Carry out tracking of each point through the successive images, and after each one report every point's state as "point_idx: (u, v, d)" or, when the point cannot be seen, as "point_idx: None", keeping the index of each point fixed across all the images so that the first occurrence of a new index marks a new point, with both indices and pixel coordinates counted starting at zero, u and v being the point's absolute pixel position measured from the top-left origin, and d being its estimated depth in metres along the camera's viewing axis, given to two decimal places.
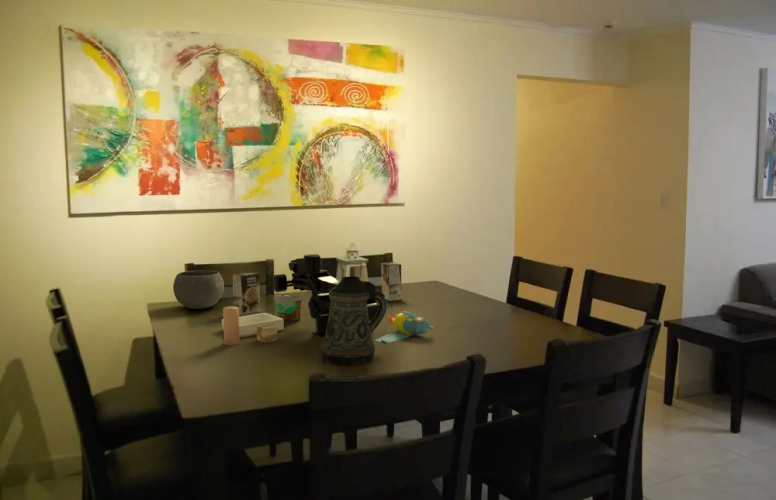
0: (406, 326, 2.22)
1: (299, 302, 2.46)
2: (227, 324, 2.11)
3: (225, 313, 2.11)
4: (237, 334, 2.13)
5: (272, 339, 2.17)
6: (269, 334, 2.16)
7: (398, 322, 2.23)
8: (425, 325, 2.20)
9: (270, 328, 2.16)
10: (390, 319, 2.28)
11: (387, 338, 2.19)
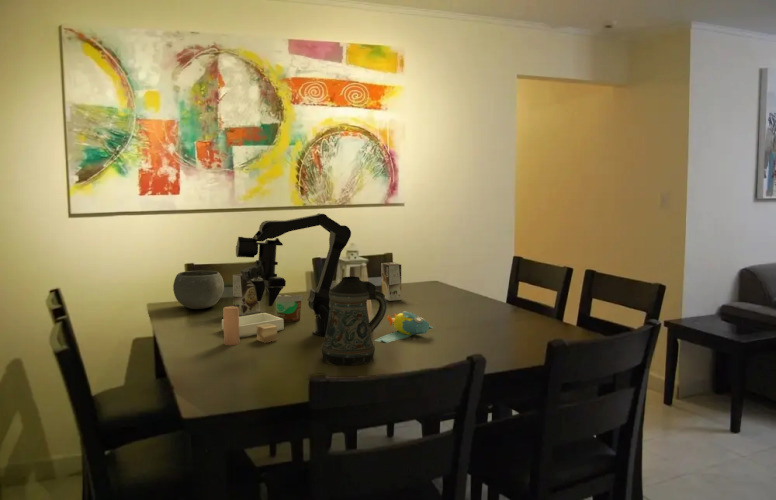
0: (406, 326, 2.22)
1: (299, 302, 2.46)
2: (227, 324, 2.11)
3: (225, 313, 2.11)
4: (237, 334, 2.13)
5: (272, 339, 2.17)
6: (269, 334, 2.16)
7: (398, 322, 2.24)
8: (425, 325, 2.20)
9: (270, 328, 2.16)
10: (390, 319, 2.28)
11: (387, 338, 2.19)
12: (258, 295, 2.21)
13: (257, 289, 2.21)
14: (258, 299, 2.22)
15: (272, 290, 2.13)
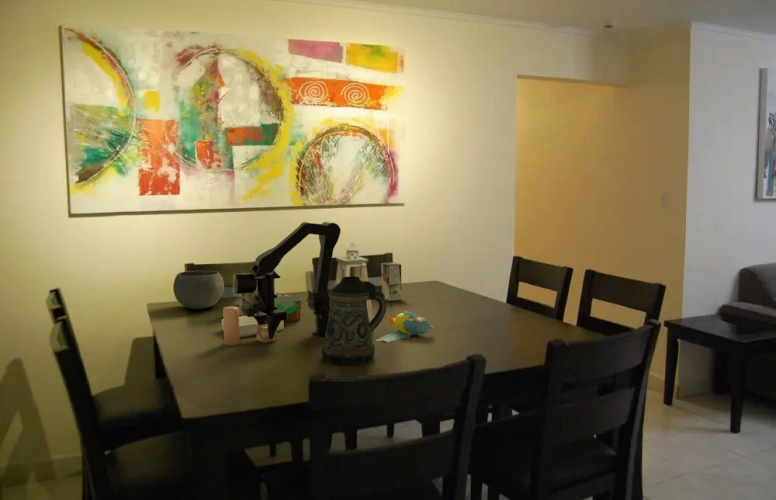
0: (407, 326, 2.22)
1: (299, 302, 2.46)
2: (227, 324, 2.11)
3: (225, 313, 2.11)
4: (237, 334, 2.13)
5: (272, 339, 2.17)
6: None
7: (399, 322, 2.24)
8: (426, 325, 2.21)
9: None
10: (391, 319, 2.28)
11: (388, 338, 2.19)
12: None
13: (260, 324, 2.20)
14: None
15: (272, 323, 2.15)
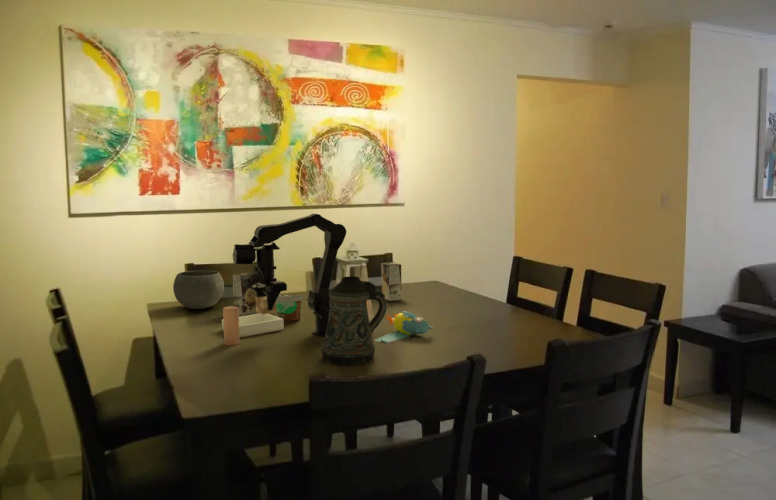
0: (406, 326, 2.22)
1: (299, 302, 2.46)
2: (227, 324, 2.11)
3: (225, 313, 2.11)
4: (237, 334, 2.13)
5: (271, 310, 2.16)
6: None
7: (398, 322, 2.24)
8: (425, 325, 2.20)
9: None
10: (390, 319, 2.28)
11: (387, 338, 2.19)
12: None
13: (259, 296, 2.18)
14: None
15: (271, 294, 2.13)
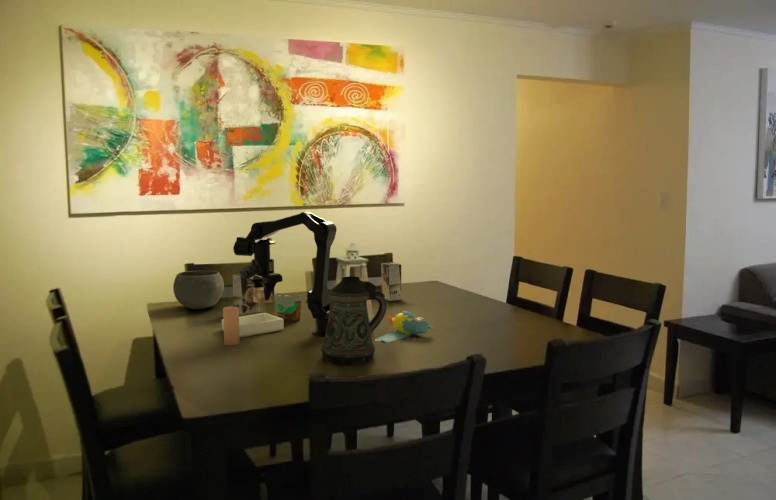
0: (406, 326, 2.22)
1: (299, 302, 2.46)
2: (227, 324, 2.11)
3: (225, 313, 2.11)
4: (237, 334, 2.13)
5: (267, 300, 2.32)
6: (264, 296, 2.31)
7: (398, 322, 2.24)
8: (425, 325, 2.21)
9: None
10: (390, 319, 2.28)
11: (387, 338, 2.19)
12: None
13: (257, 287, 2.35)
14: None
15: (267, 285, 2.30)
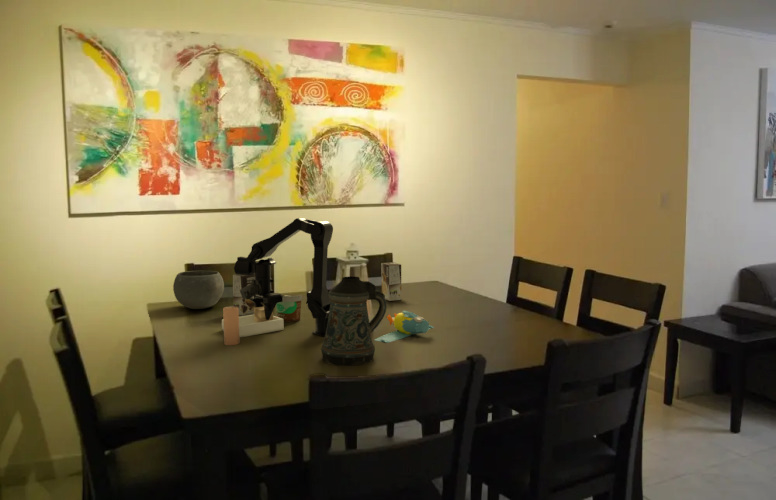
0: (406, 325, 2.22)
1: (299, 302, 2.46)
2: (227, 324, 2.11)
3: (225, 313, 2.11)
4: (237, 334, 2.13)
5: (268, 320, 2.33)
6: None
7: (398, 322, 2.24)
8: (425, 325, 2.21)
9: None
10: (390, 319, 2.28)
11: (387, 337, 2.19)
12: None
13: (258, 306, 2.36)
14: None
15: (268, 305, 2.31)
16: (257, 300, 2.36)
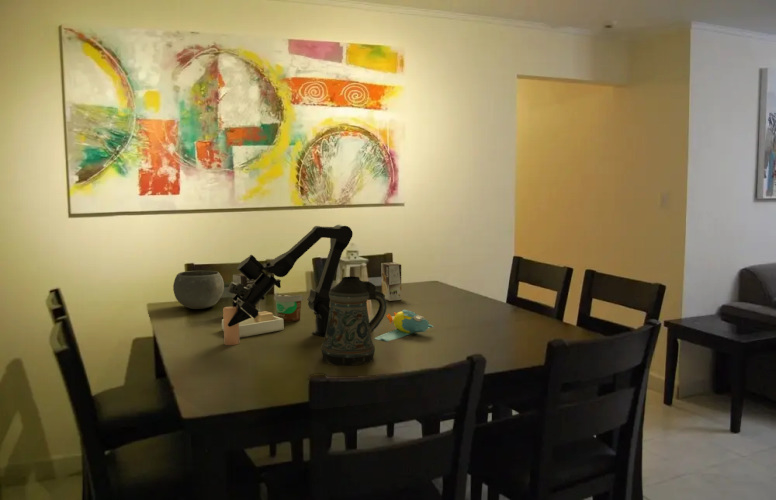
0: (405, 324, 2.24)
1: (299, 302, 2.46)
2: (227, 324, 2.11)
3: (225, 313, 2.11)
4: (237, 334, 2.13)
5: None
6: None
7: (397, 320, 2.26)
8: (424, 324, 2.22)
9: (266, 315, 2.33)
10: (390, 317, 2.30)
11: (386, 336, 2.21)
12: None
13: None
14: None
15: (240, 313, 2.11)
16: (236, 306, 2.17)
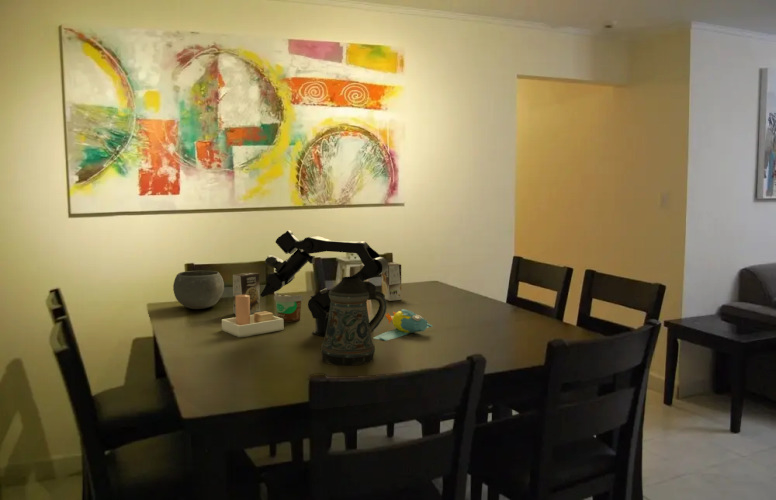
0: (404, 324, 2.25)
1: (299, 302, 2.46)
2: (236, 310, 2.29)
3: None
4: (245, 321, 2.30)
5: None
6: None
7: (396, 320, 2.26)
8: (423, 323, 2.23)
9: (266, 315, 2.33)
10: (389, 317, 2.31)
11: (385, 336, 2.22)
12: None
13: None
14: None
15: (270, 285, 2.23)
16: None
